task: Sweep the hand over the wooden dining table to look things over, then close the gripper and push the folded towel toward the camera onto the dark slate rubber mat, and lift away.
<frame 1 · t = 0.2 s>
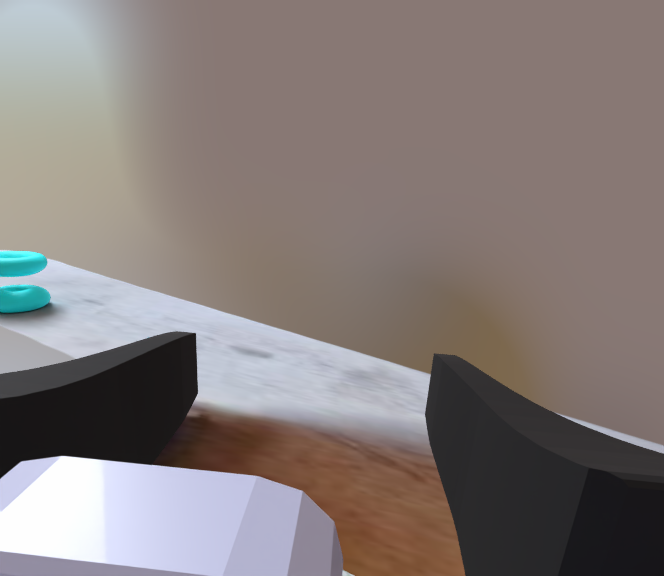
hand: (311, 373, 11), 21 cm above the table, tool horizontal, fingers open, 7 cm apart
donuts: (18, 307, 73), on the table
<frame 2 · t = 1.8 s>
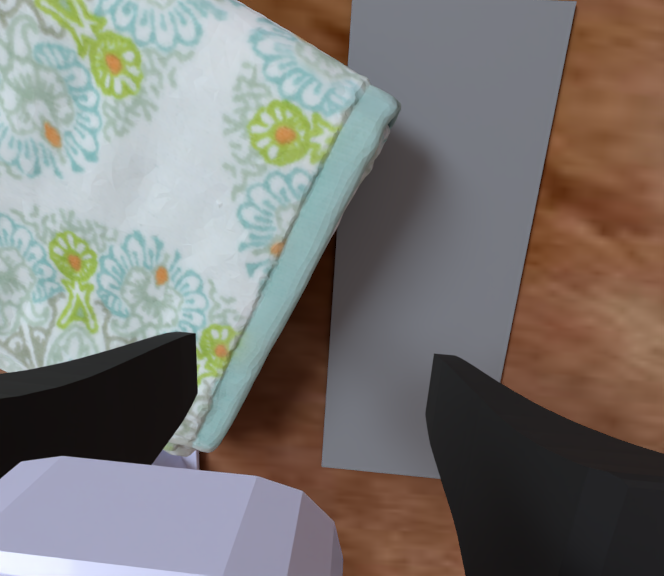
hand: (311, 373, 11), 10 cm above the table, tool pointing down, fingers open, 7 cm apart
towel: (160, 214, 21), on the table, touching slate mat
slate mat: (425, 274, 21), on the table
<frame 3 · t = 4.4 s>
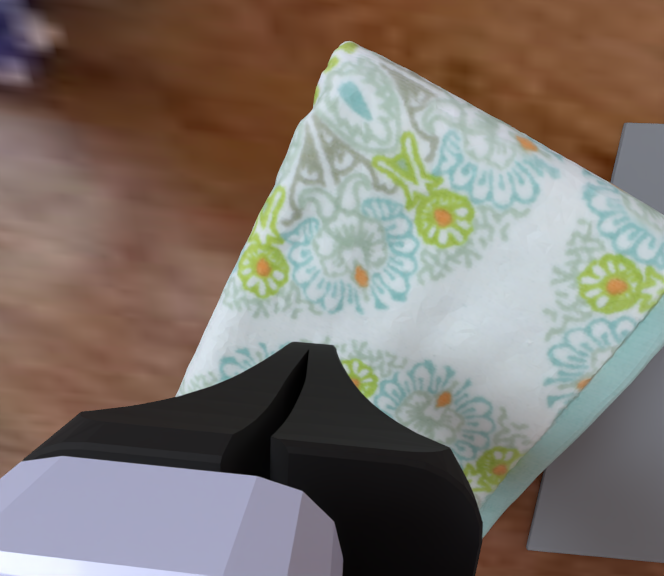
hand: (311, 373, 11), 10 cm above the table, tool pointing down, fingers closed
towel: (397, 320, 22), on the table, touching slate mat
slate mat: (658, 375, 21), on the table
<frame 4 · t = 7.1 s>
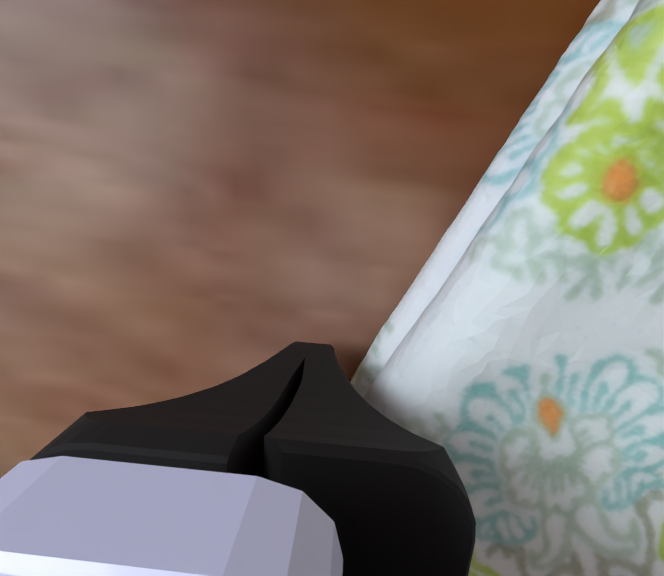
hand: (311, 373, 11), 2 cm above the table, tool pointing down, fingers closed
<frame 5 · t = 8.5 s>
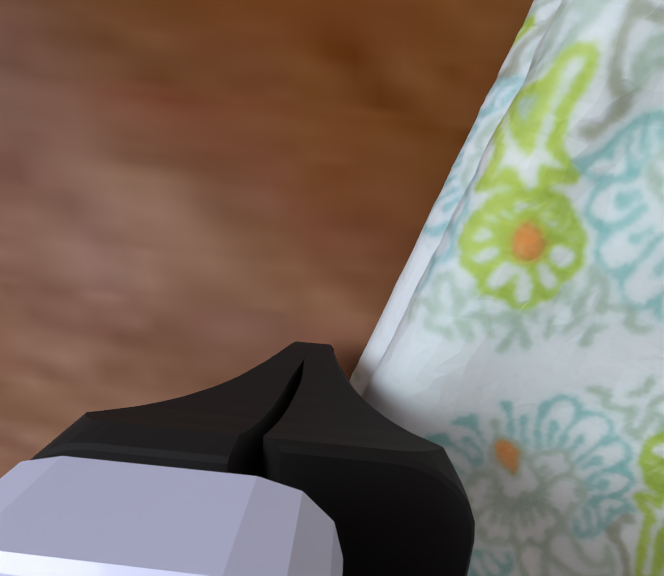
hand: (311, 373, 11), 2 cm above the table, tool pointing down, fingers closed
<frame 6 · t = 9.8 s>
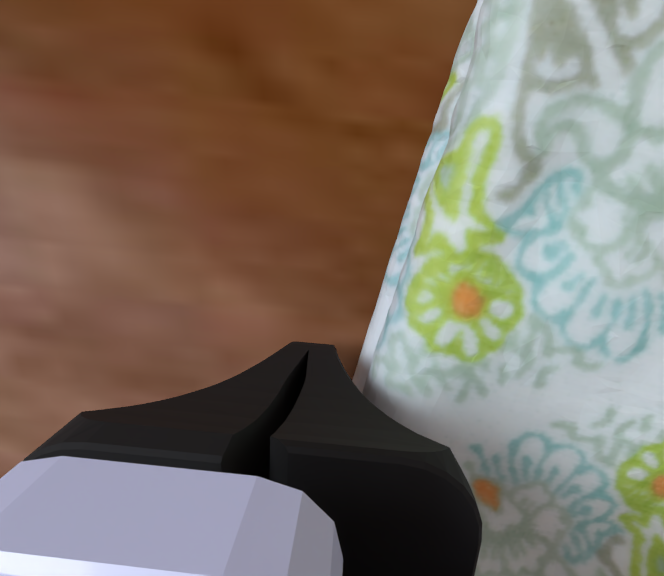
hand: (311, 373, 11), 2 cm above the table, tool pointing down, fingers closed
towel: (652, 334, 12), on the table, touching slate mat
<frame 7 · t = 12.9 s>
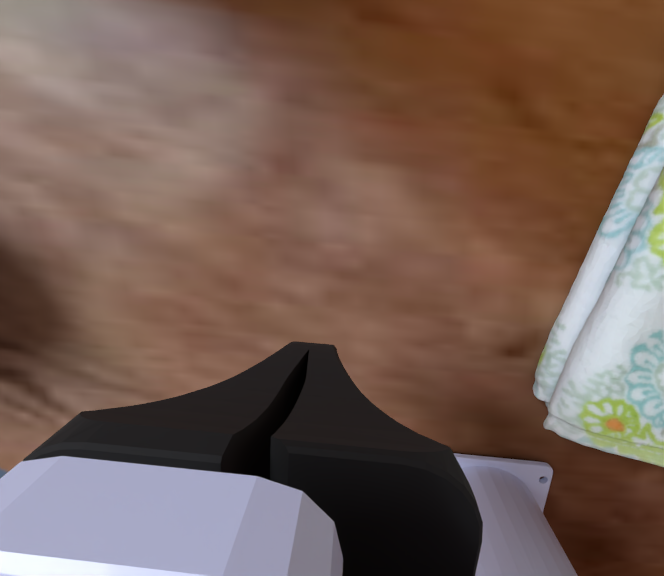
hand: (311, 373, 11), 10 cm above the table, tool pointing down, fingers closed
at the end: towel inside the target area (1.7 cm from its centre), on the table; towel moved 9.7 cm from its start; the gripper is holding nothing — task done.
